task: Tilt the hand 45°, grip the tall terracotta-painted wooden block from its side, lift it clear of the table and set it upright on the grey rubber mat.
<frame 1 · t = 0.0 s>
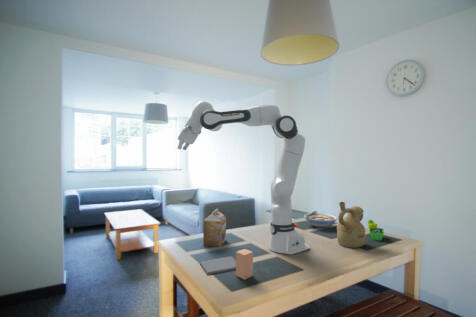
hand: (181, 149, 140), 54 cm above the table, tool tilted 30°, fingers open, 8 cm apart
ramen bowl: (320, 226, 180), on the table
mat: (220, 265, 114), on the table
block: (244, 275, 104), on the table
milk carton: (215, 243, 145), on the table
ceramic vessel: (349, 244, 143), on the table
fruit basket: (375, 238, 154), on the table
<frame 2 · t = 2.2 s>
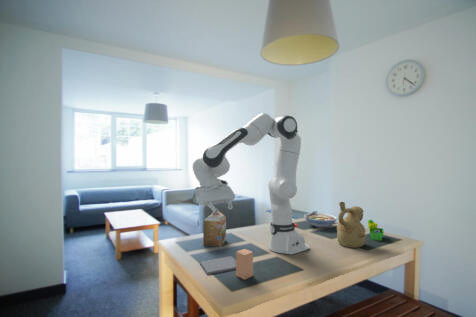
hand: (223, 209, 114), 26 cm above the table, tool tilted 45°, fingers open, 8 cm apart
nothing on the table moved.
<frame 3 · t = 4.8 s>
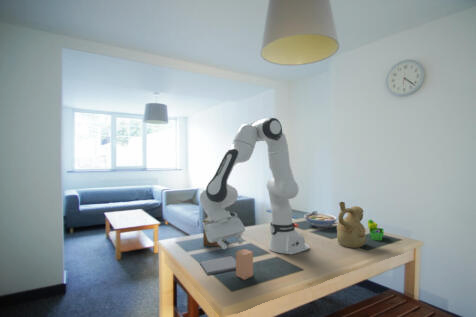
hand: (233, 245, 109), 11 cm above the table, tool tilted 45°, fingers open, 8 cm apart
nothing on the table moved.
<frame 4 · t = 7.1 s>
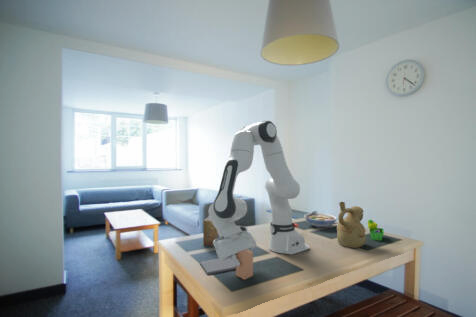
hand: (245, 263, 104), 5 cm above the table, tool tilted 45°, fingers closed on block, 5 cm apart
block: (244, 275, 104), on the table, touching gripper
everything else where it was.
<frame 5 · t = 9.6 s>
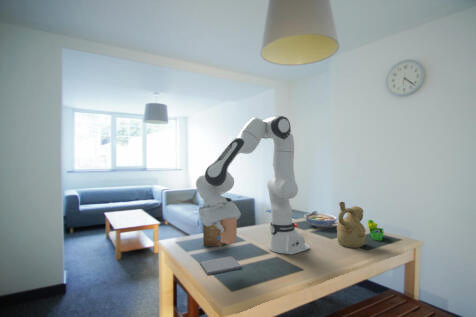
hand: (229, 229, 110), 18 cm above the table, tool tilted 45°, fingers closed on block, 5 cm apart
block: (228, 241, 110), point 12 cm above the table, touching gripper
everything else where it was.
when the fingers open (7 cm above the table, at t = 12.3 s): block stays where it is, resting on mat.
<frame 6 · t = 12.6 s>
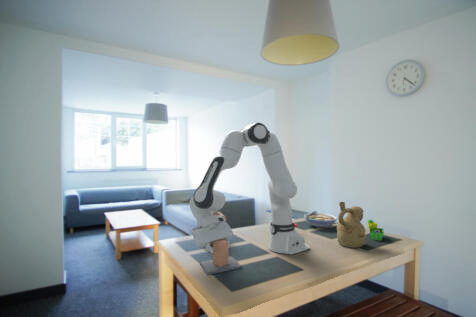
hand: (221, 250, 113), 7 cm above the table, tool tilted 45°, fingers open, 8 cm apart
block: (220, 263, 114), point 1 cm above the table, touching mat
everything else where it was.
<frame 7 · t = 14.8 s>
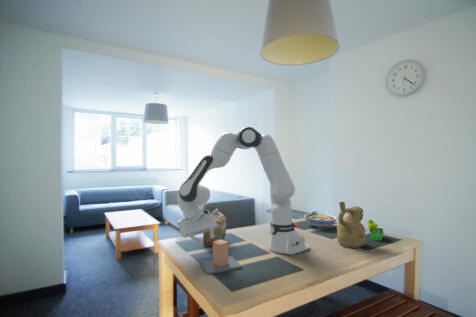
hand: (205, 239, 123), 9 cm above the table, tool tilted 45°, fingers open, 8 cm apart
nothing on the table moved.
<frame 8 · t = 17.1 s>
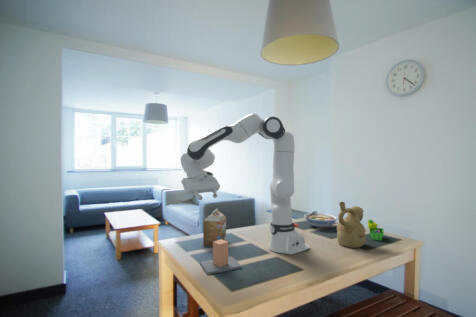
hand: (208, 198, 124), 29 cm above the table, tool tilted 45°, fingers open, 8 cm apart
nothing on the table moved.
at the end: block inside the target area on the mat (0.1 cm from its centre), point 1.0 cm above the mat's base; block tilted 0°; the gripper is holding nothing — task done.
